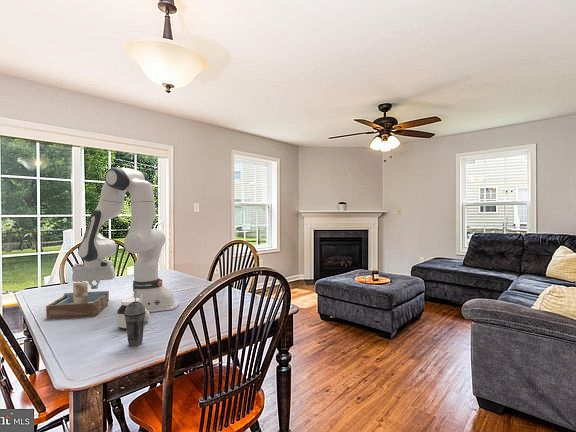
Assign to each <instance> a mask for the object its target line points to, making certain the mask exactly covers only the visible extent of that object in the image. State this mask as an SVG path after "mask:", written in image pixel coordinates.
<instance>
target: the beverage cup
mask: <svg viewBox="0 0 576 432" xmlns="http://www.w3.org/2000/svg"><path fill="white" fill-rule="evenodd" d="M145 313H146V310H145V307H144V305H143V304H142V303H140V302H136V289H135V302H132V303H130V304H129V305H128V306H127V307H126V309H125V313H124V315H125V320H126V327H127V330H126V336H127V344H128V347H130V348H131V347H139V346H140V345H142V344H143V337H144V326H145V322H144V318H145Z"/></svg>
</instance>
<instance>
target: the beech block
mask: <svg viewBox="0 0 576 432" xmlns="http://www.w3.org/2000/svg"><path fill="white" fill-rule="evenodd" d="M88 285H89V283H88V282H87V281H81V282H74V283H73V284H72V287H73V289H72V290H73V291H72V293H73V304H81V303H88V292H89V291H88V289H89V288H88Z"/></svg>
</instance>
